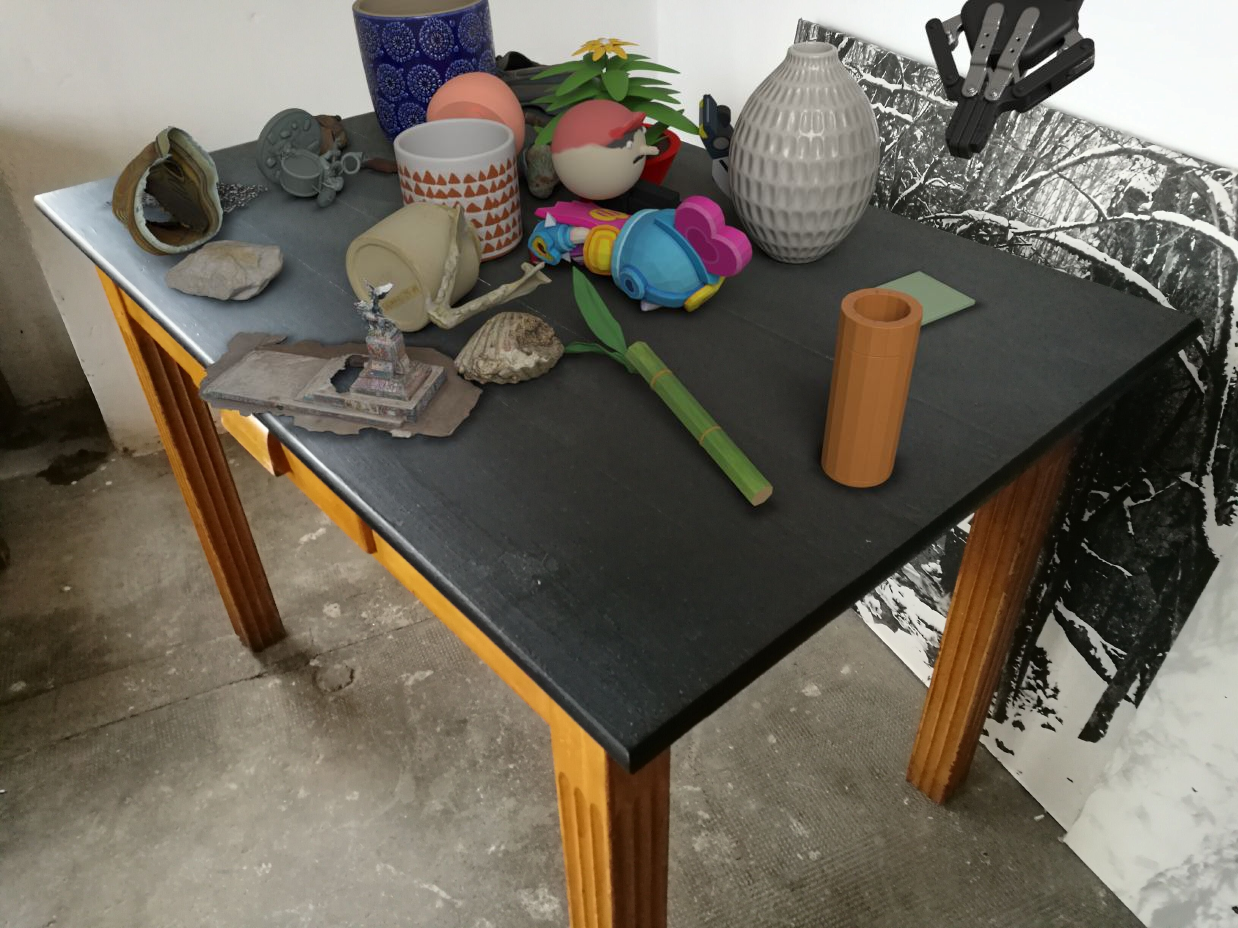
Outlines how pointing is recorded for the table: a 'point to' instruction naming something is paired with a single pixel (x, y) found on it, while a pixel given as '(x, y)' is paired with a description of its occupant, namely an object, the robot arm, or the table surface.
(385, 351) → the monument
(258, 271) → the stone
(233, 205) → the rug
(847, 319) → the jar
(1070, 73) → the robot arm
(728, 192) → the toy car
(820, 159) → the vase
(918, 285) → the coaster
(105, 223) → the table surface
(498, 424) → the table surface
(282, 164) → the figurine
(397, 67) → the planter
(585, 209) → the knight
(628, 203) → the toy
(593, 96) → the potted flower
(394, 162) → the knife
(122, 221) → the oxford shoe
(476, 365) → the seashell
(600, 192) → the toy
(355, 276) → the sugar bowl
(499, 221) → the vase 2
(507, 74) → the loafer
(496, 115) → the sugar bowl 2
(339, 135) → the figurine
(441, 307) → the jawbone
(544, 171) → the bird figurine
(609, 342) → the decorative plant
